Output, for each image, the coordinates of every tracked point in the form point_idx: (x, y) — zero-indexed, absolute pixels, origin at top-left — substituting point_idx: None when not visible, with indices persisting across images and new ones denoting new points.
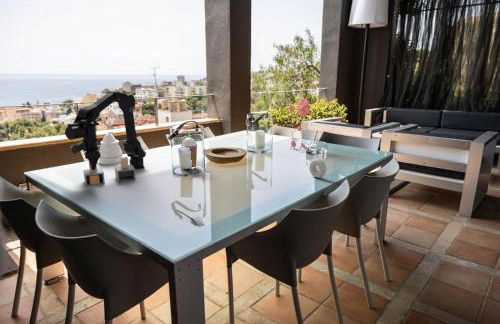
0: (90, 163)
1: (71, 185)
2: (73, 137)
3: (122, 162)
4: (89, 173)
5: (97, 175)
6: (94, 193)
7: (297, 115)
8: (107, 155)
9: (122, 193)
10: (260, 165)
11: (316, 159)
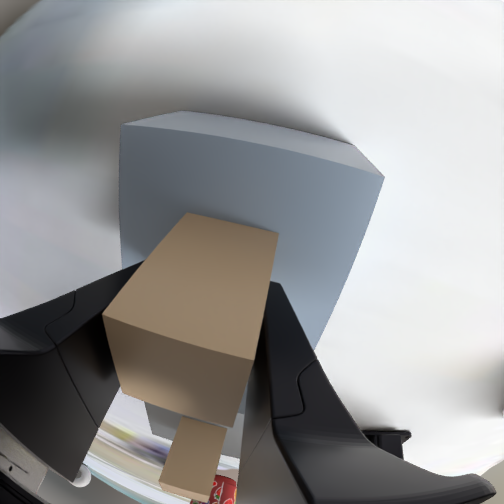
0: (65, 296)
1: (284, 10)
2: None
3: (168, 457)
4: (137, 190)
5: None
6: (23, 145)
7: None
8: None
9: (7, 255)
10: (171, 494)
11: (73, 483)
